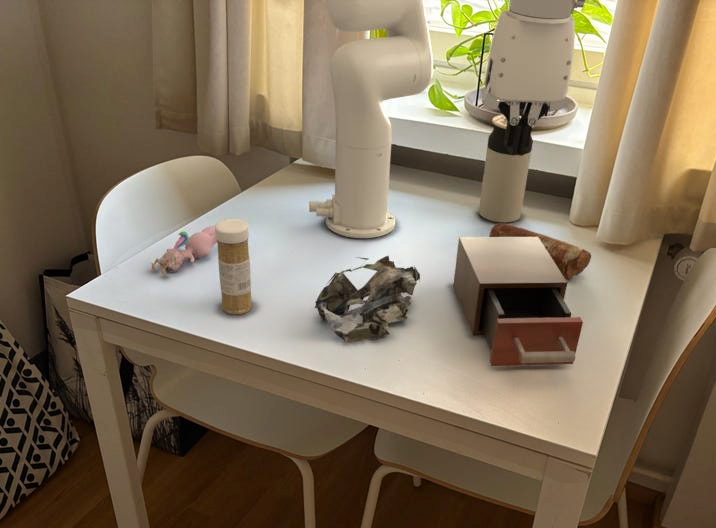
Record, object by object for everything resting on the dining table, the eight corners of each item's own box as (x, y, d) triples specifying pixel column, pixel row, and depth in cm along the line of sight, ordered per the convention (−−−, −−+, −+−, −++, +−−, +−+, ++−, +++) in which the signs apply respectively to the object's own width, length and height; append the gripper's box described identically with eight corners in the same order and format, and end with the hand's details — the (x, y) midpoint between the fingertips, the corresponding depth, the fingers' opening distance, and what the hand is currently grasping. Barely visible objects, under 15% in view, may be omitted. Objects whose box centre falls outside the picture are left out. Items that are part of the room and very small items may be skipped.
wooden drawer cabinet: (556, 334, 112) (567, 282, 107) (472, 335, 110) (479, 283, 105) (529, 285, 123) (538, 236, 119) (453, 286, 122) (458, 236, 117)
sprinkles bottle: (244, 297, 116) (239, 214, 108) (258, 311, 113) (254, 227, 105) (216, 305, 113) (208, 221, 106) (229, 319, 110) (223, 234, 103)
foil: (307, 279, 114) (394, 231, 111) (345, 332, 119) (429, 288, 116) (303, 317, 104) (399, 265, 101) (345, 373, 110) (437, 325, 106)
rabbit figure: (174, 288, 119) (242, 243, 128) (164, 256, 115) (235, 212, 124) (148, 275, 122) (216, 232, 131) (138, 244, 118) (209, 201, 127)
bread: (567, 287, 123) (574, 256, 120) (481, 244, 135) (485, 214, 132) (591, 276, 127) (598, 246, 124) (505, 235, 138) (510, 206, 135)
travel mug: (528, 215, 146) (544, 122, 136) (504, 227, 141) (519, 131, 131) (494, 203, 150) (507, 111, 140) (470, 214, 145) (482, 119, 135)
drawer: (585, 385, 100) (596, 342, 96) (500, 388, 98) (507, 344, 94) (544, 312, 115) (552, 272, 111) (470, 313, 113) (475, 273, 109)
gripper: (590, 0, 95) (560, 143, 106) (473, -6, 94) (455, 140, 104) (611, 14, 89) (577, 164, 100) (486, 7, 88) (465, 161, 98)
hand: (514, 151), depth 102 cm, fingers closed
